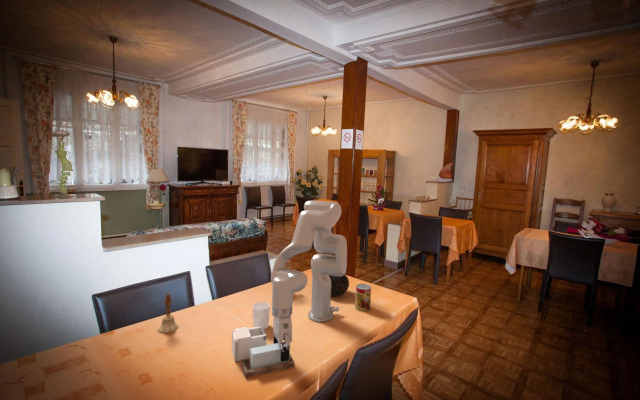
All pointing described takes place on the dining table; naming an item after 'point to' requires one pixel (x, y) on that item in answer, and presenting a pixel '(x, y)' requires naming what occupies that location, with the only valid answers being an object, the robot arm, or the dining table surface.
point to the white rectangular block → (266, 356)
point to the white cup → (261, 314)
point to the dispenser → (247, 341)
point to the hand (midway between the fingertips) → (281, 353)
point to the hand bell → (168, 318)
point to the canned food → (363, 297)
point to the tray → (249, 372)
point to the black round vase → (338, 284)
